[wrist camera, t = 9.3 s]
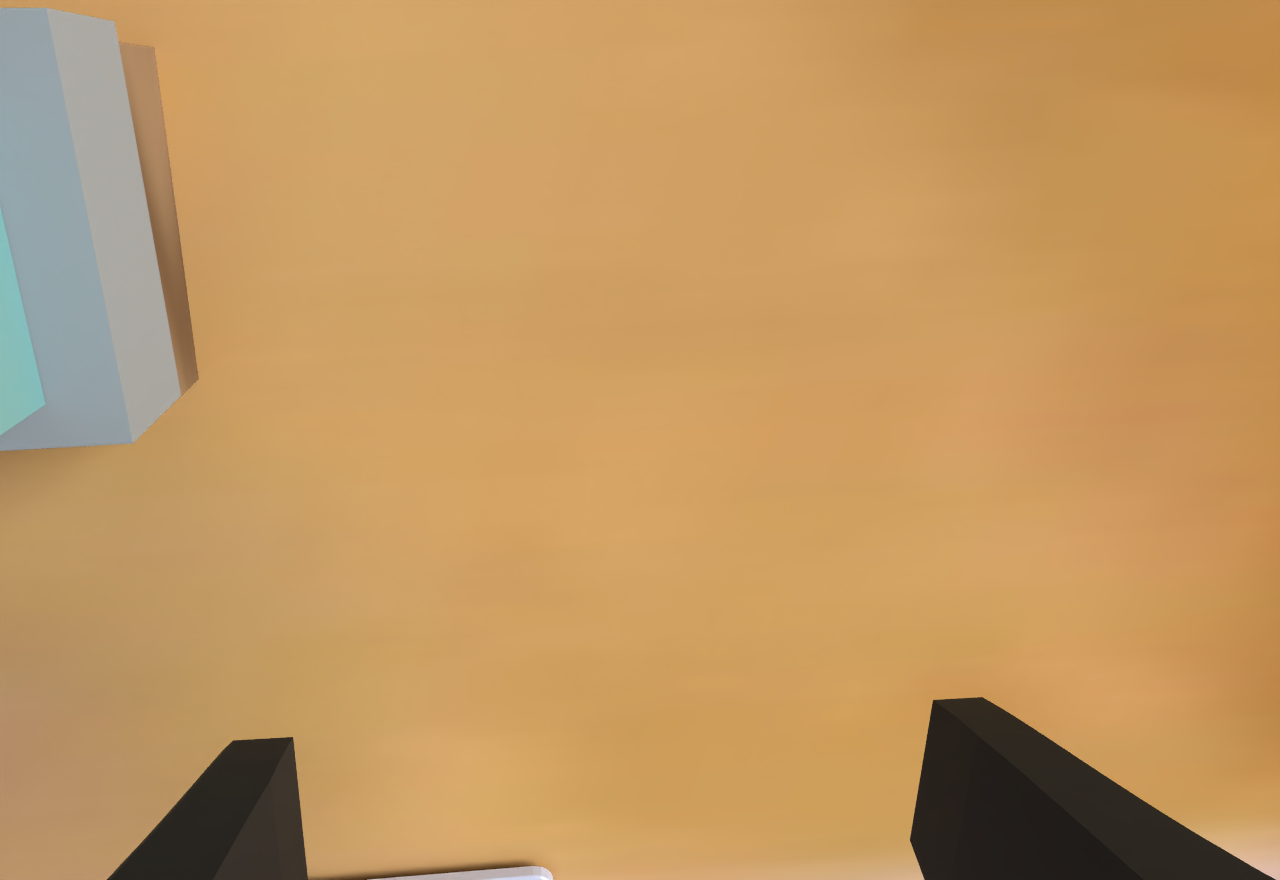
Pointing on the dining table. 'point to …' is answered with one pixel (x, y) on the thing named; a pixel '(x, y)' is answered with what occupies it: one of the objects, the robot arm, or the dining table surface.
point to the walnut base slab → (160, 200)
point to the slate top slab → (80, 234)
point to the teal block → (15, 348)
